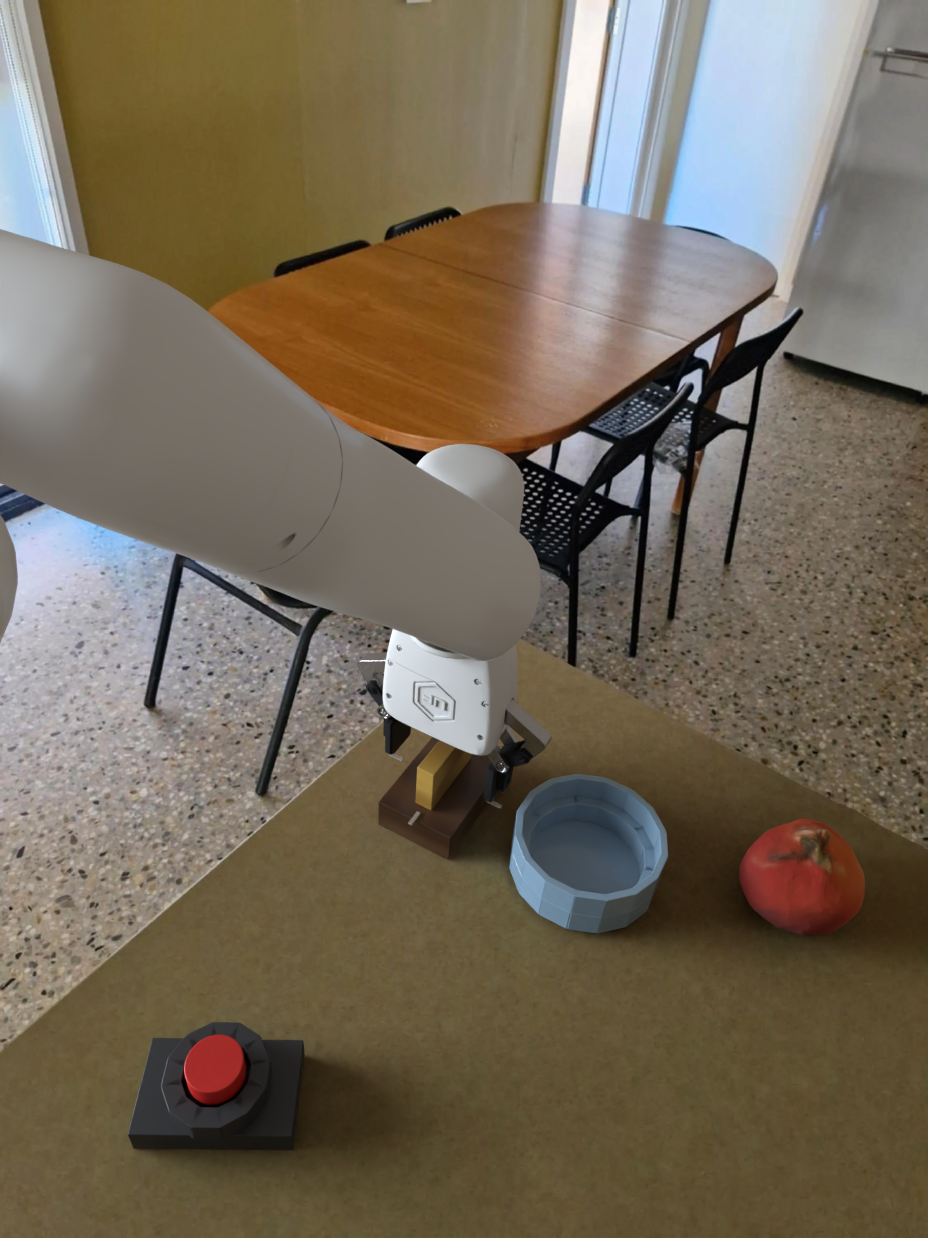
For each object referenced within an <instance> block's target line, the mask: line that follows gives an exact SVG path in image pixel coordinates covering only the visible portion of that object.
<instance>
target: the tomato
mask: <svg viewBox="0 0 928 1238" xmlns="http://www.w3.org/2000/svg"><path fill="white" fill-rule="evenodd" d="M738 877H739V883H740V886H741V890H742V892H743V895H744V896H745V899H746V901H747V903H748V905H749V906H750V908H752V910H753V911H754V912H756V913H757V915H759V916H760V917H761V918H762V919H764V920H766V921H767V922H768V923H770V924H771V925H773V926H774V927H776V928H777V929H781V930H783V931H788V932H791V933H795V934H797V935H800V936H804V937H813V936H827V935H831V934H832V933H835V932H836V931H838V930H839V929H840V928H841V927H843V926H845V925H846V924H847V923H849V922H850V921H851V920H852V919H853V918H854V917H855V916H856V915H857V914H858V913H859V912H860V910H861V908H862V907H863V902H864V899H865V893H866V879H865V878H866V877H865V873H864V870H863V868H862V866H861V864H860V862H859V860H858V858H857V856H856V854H855V853H854V850H853V848H852V846H851V845H850V843H849V842H848V841H847V840H846V839H845V838H844V837H843V836H842V835H841V834H840V833H839V832H838V831H836V830H834V828H832V827H831V826H829V825H828V824H827V823H825V822H823V821H821V820H817V819H813V818H798V819H795V820H793V821H791V822H787V823H783V824H781V825H777V826H774V827H772V828H770V829H768V830H767V831H765V832H764V833H763V834H762V835H760V836H759V837H758V838H757V839H756V840H755V841H754V842H753V843H752V844H751V845H750V846H749V848H748V849H747V850H746V852H745V854H744V855H743V857H742V860H741V862H740V866H739V873H738Z"/></svg>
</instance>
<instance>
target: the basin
mask: <svg viewBox="0 0 928 1238" xmlns="http://www.w3.org/2000/svg"><path fill="white" fill-rule="evenodd" d="M510 844H511V845H510V855H509V857H510V858H509V865H508V867H509V871H510V874H511V877H512V879H513V882H514V884H515V887H516V891H517V892H518V894H519V895H520V896H521V897H522V899H524V901H525V902H526V903H527V904H528V905H529V906H530V907H531V909H533V911H534V912H535V913H536V914H537V915H538V916H541V917H542V918H544V919H546V920H548V921H550V922H552V923H553V924H556V925H558V926H560V927H562V928H564V929H566V930H569V931H578V932H584V933H592V934H602V933H607V932H610V931H614V930H619V929H622V928H623V929H624V928H627V927H628V926H630V925H631V924H632V923H634V922H635V921H636V920H637V919H638V918H640V917H642V916H643V915H644V914H645V913H646V912H647V911H648V910H649V907H650V905H651V903H652V901H653V899H654V896H655V894H656V892H657V890H658V887H659V884H660V881H661V878H662V875H663V874H664V873H663V872H664V870H665V867H666V864H667V861H668V858H669V848H668V834H667V830H666V828H665V826H664V824H663V822H662V821H661V819H660V817H659V815H658V813H657V811H656V810H655V808H654V806H652V805H651V804H650V803H649V802H647V800H645V799H644V798H643V797H642V796H641V795H640V794H638V793H637V792H636V791H635V790H634V789H632V788H631V787H628V786H626V785H624V784H621V783H619V782H618V781H615V780H612V779H610V778H609V777H604V776H598V775H590V774H583V773H574V774H567V775H563V776H557V777H552V778H549V779H548V780H546V781H545V782H542V783H541V784H539V785H538V786H536V787H534V788H533V789H531V790H530V791H529V792H528V793H527V795H526V796H525V798H524V800H523V801H522V802H521V804H520V806H519V807H518V809H517V810H516V814H515V821H514V826H513V833H512V838H511V843H510Z"/></svg>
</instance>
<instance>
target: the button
mask: <svg viewBox="0 0 928 1238" xmlns="http://www.w3.org/2000/svg"><path fill="white" fill-rule="evenodd" d="M184 1075H185V1078H186V1082H187V1085H188V1089H189V1091H190V1093H191V1095H192V1096H193V1097H194V1098H195V1099H196V1100H197V1101H199V1102H201V1103H203V1104H207V1105H216V1104H220V1103H223V1102H225V1101H227V1100H229V1099H230V1098H232V1097H233V1096H234V1095H235V1094H236V1093H237V1092H238V1091H239V1090H240V1088H241V1086H242V1084H243V1082H244V1080H245V1076H246V1065H245V1060H244V1054H243V1051H242V1048H241V1046H240V1045H239V1043H238V1042H237V1041H236V1040H235V1039H233V1038H231V1037H229V1036H226V1035H212V1036H209V1037H206V1038H204V1039H202V1040H201V1041H199V1042H198V1043H197V1044H196V1045H195V1046H194V1047H193V1048H192V1049H191V1051H190V1052H189V1054H188V1055H187V1058H186V1061H185V1065H184Z"/></svg>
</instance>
